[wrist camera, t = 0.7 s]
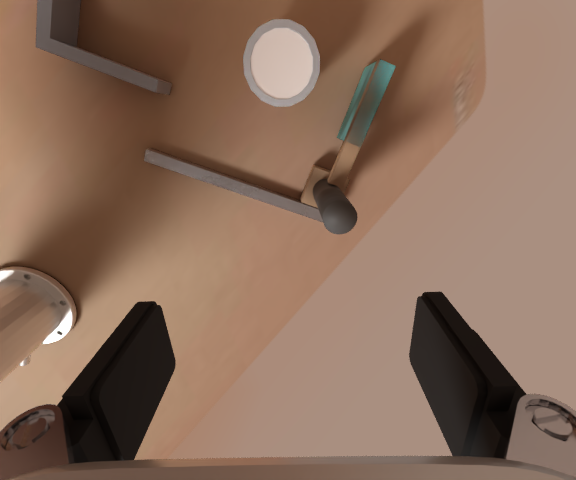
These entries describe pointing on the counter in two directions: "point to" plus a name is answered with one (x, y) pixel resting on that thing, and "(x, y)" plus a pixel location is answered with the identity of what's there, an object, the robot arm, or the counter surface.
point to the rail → (231, 183)
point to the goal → (63, 42)
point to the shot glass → (281, 62)
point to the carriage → (347, 152)
